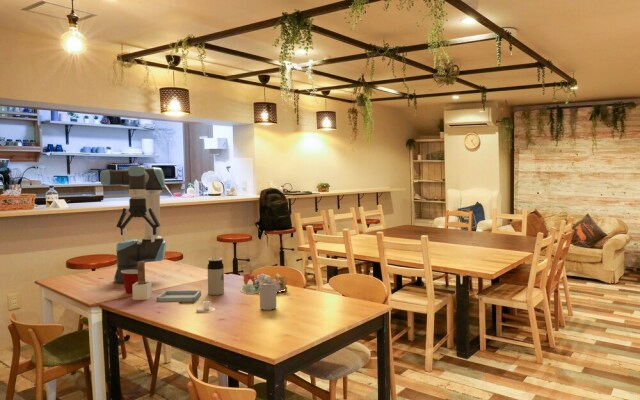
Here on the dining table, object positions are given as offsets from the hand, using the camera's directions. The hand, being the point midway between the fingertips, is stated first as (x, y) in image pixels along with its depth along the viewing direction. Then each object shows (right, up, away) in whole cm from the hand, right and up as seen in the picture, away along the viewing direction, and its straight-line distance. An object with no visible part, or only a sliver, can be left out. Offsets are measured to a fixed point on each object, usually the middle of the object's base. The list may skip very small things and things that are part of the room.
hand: (138, 241), depth 241 cm
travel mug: (+35, -28, +13) cm, 46 cm away
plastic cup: (-8, -28, +15) cm, 33 cm away
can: (+64, -29, -15) cm, 72 cm away
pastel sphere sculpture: (+58, -28, +21) cm, 68 cm away
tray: (+19, -28, +3) cm, 34 cm away
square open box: (+1, -28, +3) cm, 29 cm away
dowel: (+1, -28, +2) cm, 28 cm away
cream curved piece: (+33, -30, -15) cm, 47 cm away
